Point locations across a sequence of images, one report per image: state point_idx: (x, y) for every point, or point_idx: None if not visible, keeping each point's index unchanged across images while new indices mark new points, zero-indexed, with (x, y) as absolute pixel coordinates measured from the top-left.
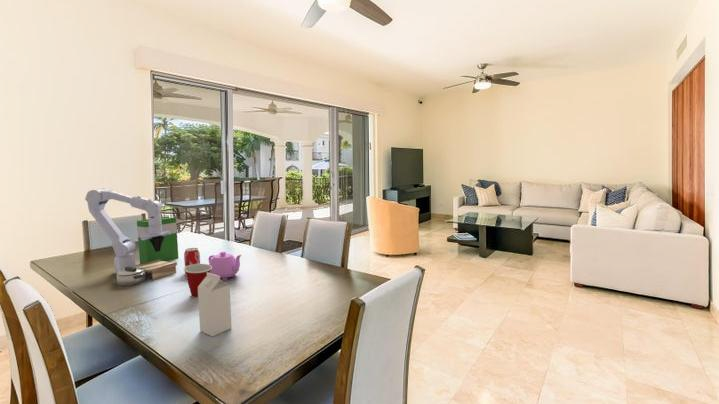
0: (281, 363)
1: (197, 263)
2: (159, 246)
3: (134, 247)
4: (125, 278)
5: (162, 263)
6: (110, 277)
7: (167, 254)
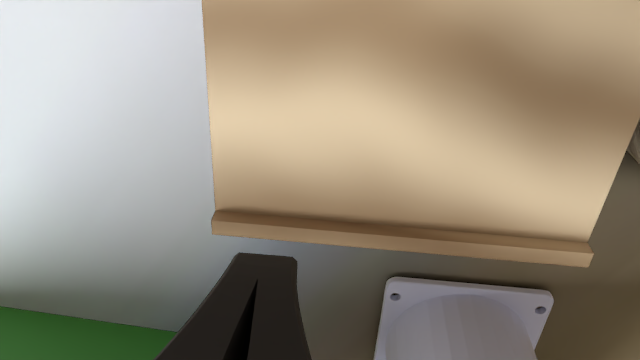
0: None
1: None
2: (235, 327)
3: None
4: None
5: (307, 60)
6: (611, 349)
7: None
